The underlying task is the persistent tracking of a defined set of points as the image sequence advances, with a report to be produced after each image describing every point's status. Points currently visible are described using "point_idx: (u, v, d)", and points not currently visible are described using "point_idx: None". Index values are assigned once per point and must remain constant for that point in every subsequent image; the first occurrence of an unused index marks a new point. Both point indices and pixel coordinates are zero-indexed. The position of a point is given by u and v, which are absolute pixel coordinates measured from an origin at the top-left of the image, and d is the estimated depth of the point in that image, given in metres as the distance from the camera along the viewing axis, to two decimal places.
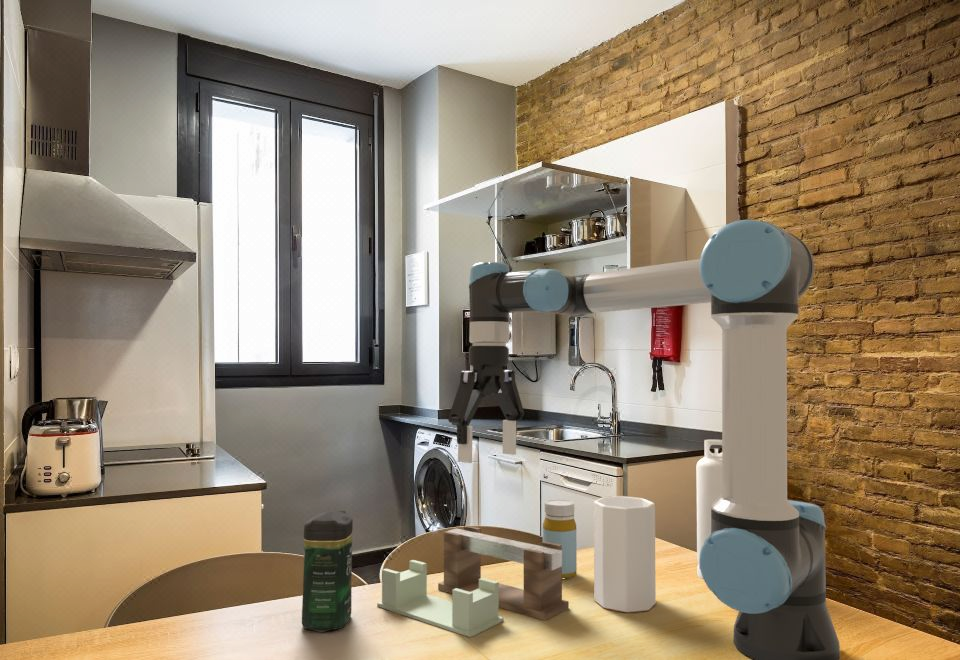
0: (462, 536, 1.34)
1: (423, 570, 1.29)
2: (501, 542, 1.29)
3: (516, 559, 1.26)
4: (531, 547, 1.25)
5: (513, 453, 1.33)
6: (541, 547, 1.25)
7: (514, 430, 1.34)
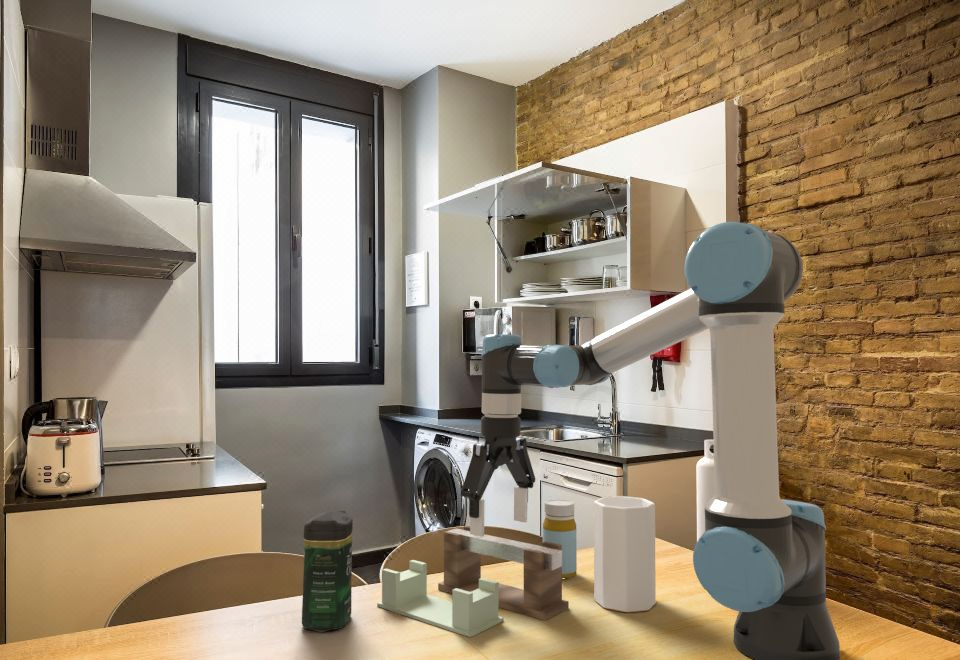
0: (462, 536, 1.34)
1: (423, 570, 1.29)
2: (501, 542, 1.29)
3: (516, 559, 1.26)
4: (531, 547, 1.25)
5: (524, 521, 1.34)
6: (541, 547, 1.25)
7: (525, 498, 1.35)
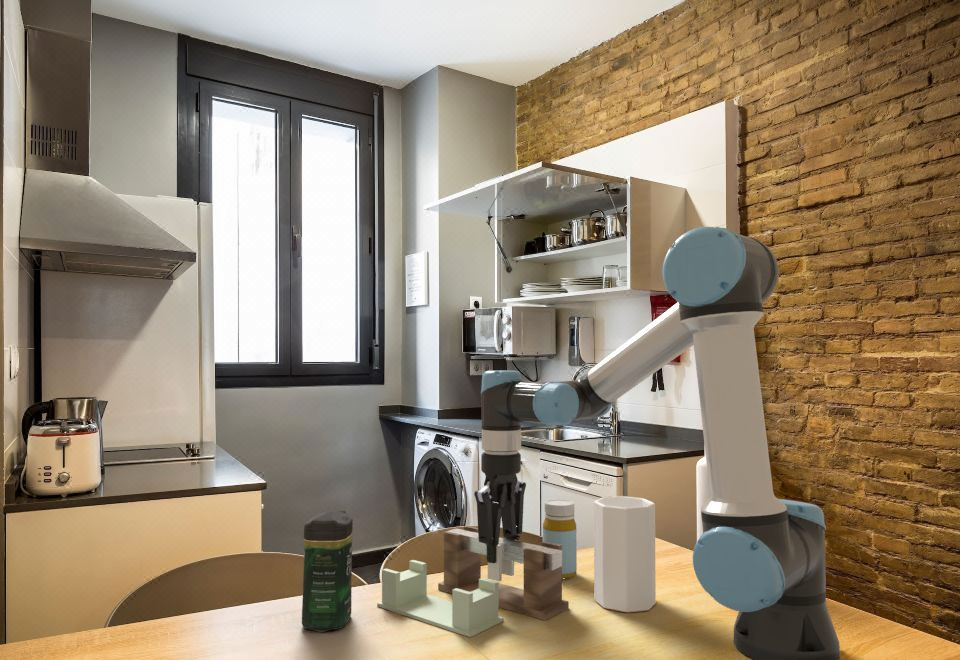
0: (462, 536, 1.34)
1: (423, 570, 1.29)
2: (501, 542, 1.29)
3: (516, 559, 1.26)
4: (531, 547, 1.25)
5: (511, 574, 1.30)
6: (541, 547, 1.25)
7: None
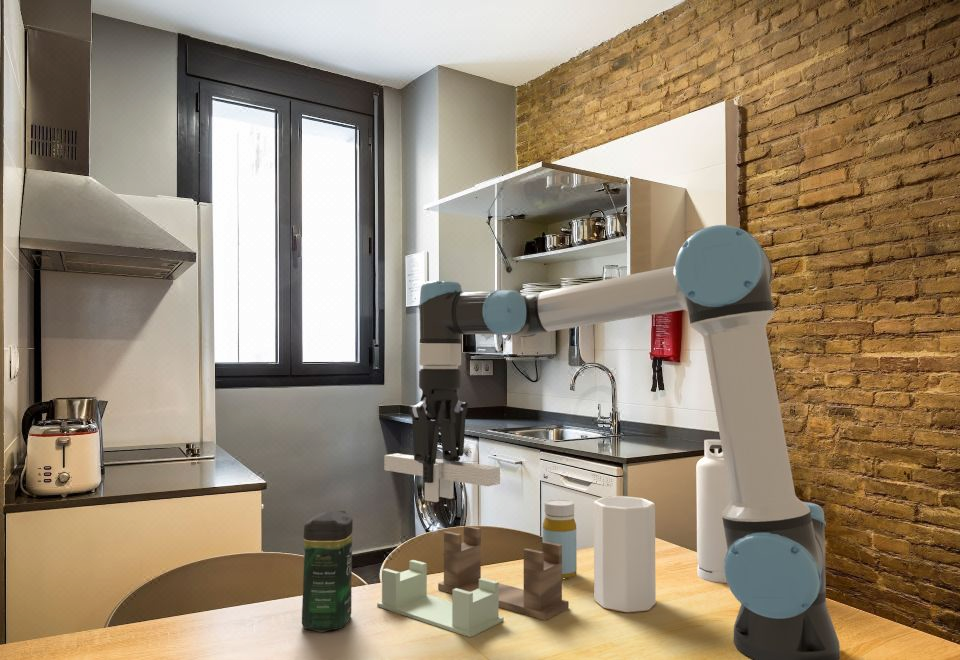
0: (400, 458, 1.27)
1: (423, 570, 1.29)
2: (439, 462, 1.22)
3: (453, 478, 1.19)
4: (468, 465, 1.18)
5: (450, 497, 1.23)
6: (479, 465, 1.18)
7: None
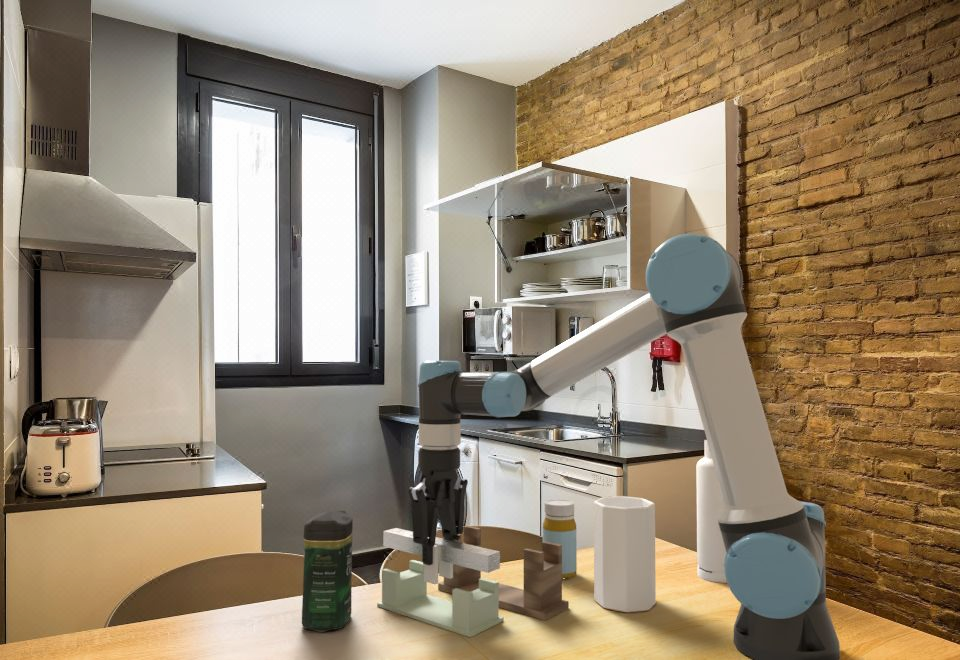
0: (399, 536, 1.26)
1: (423, 570, 1.29)
2: (438, 542, 1.21)
3: (452, 561, 1.18)
4: (468, 548, 1.18)
5: (450, 577, 1.23)
6: (479, 548, 1.18)
7: None
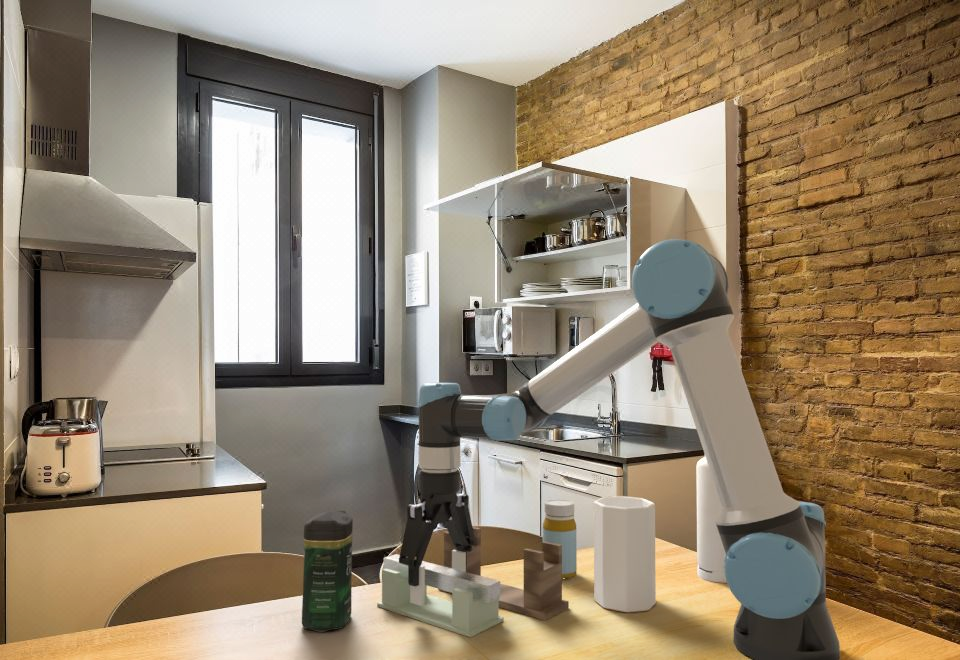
0: (399, 563, 1.26)
1: None
2: (438, 571, 1.21)
3: None
4: (468, 577, 1.17)
5: None
6: (479, 577, 1.17)
7: (463, 563, 1.25)
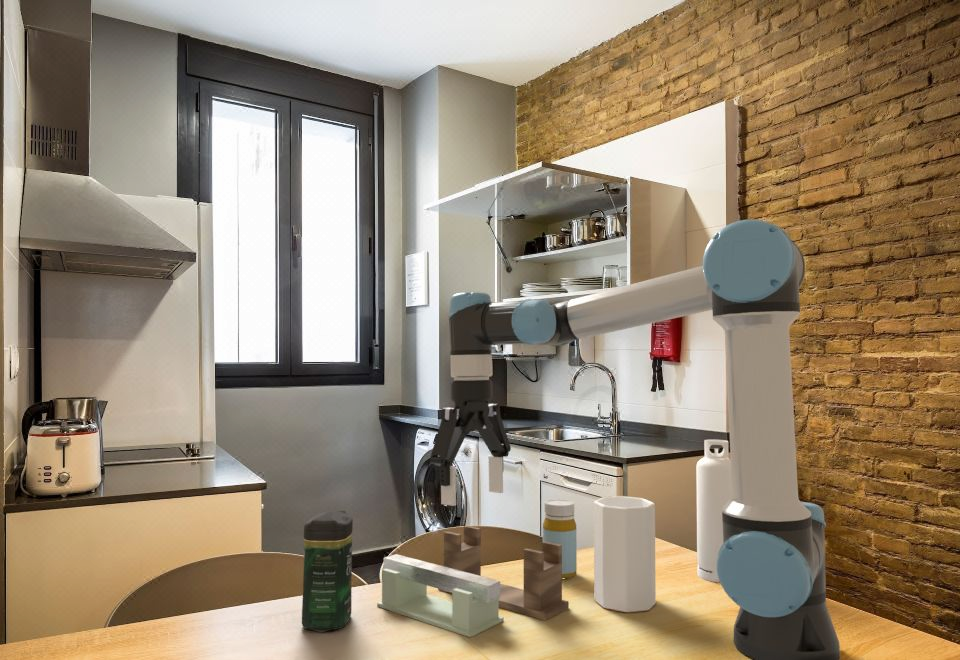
0: (399, 563, 1.26)
1: None
2: (438, 571, 1.21)
3: None
4: (468, 577, 1.17)
5: (500, 491, 1.27)
6: (479, 577, 1.17)
7: (500, 467, 1.27)
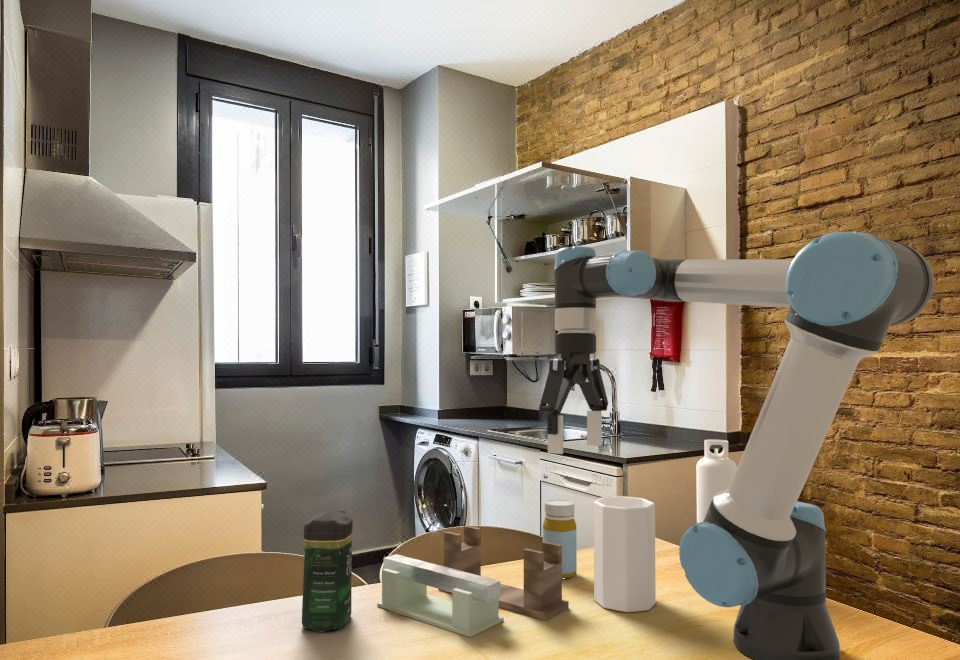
0: (399, 563, 1.26)
1: None
2: (438, 571, 1.21)
3: None
4: (468, 577, 1.17)
5: (599, 444, 1.29)
6: (479, 577, 1.17)
7: (600, 421, 1.29)
